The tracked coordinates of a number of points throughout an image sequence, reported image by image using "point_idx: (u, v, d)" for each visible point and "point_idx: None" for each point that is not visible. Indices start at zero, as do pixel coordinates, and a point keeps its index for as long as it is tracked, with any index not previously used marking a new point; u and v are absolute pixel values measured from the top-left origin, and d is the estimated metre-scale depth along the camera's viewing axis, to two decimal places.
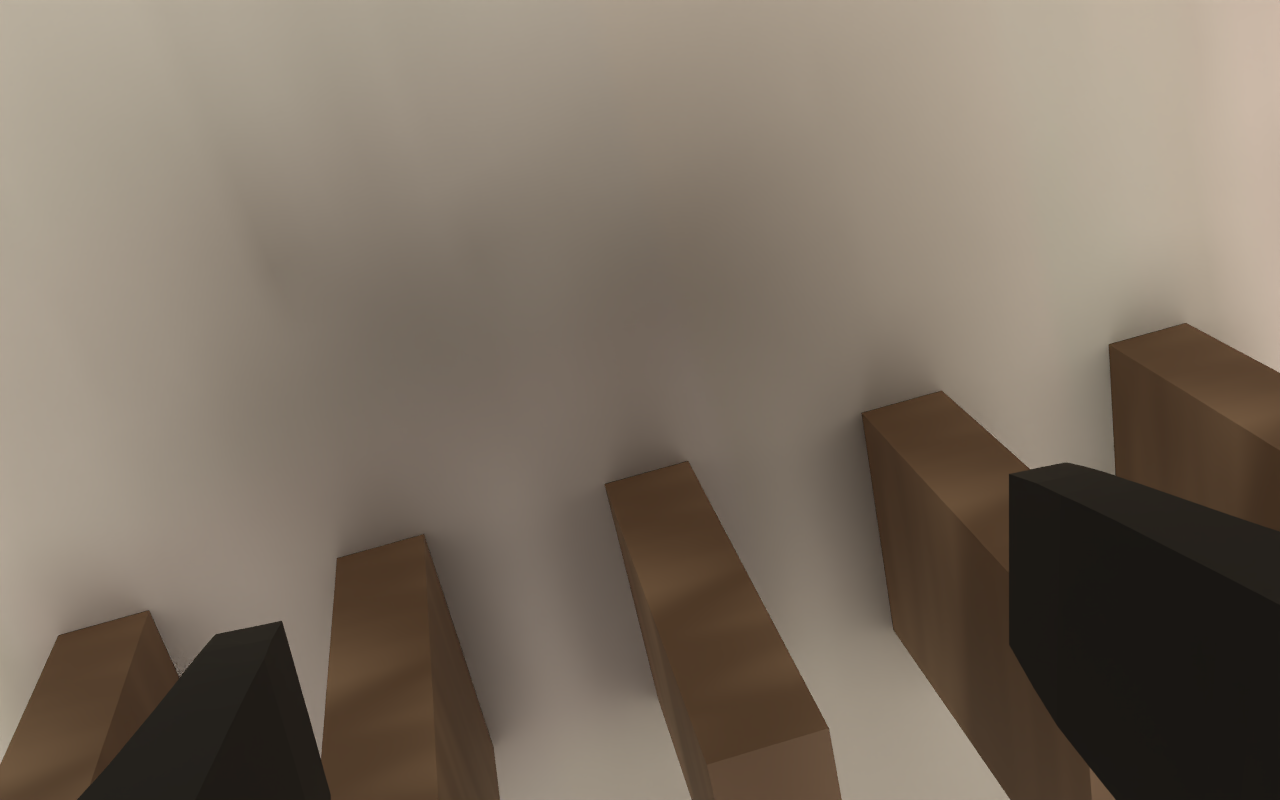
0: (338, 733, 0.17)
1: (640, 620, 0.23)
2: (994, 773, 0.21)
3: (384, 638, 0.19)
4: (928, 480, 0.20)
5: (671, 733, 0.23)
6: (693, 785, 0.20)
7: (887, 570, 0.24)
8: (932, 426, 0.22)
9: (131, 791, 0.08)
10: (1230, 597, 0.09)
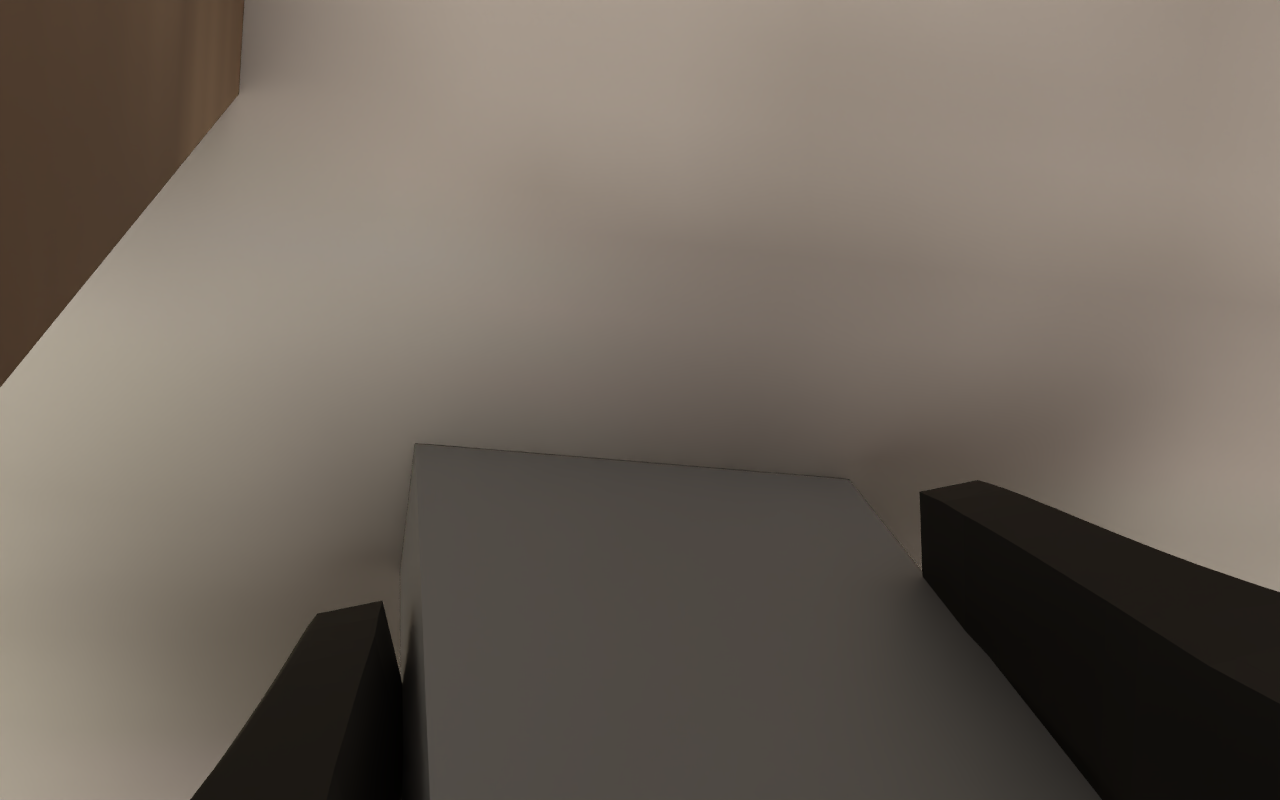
0: None
1: None
2: None
3: None
4: None
5: None
6: None
7: None
8: None
9: (266, 762, 0.08)
10: (1112, 623, 0.09)
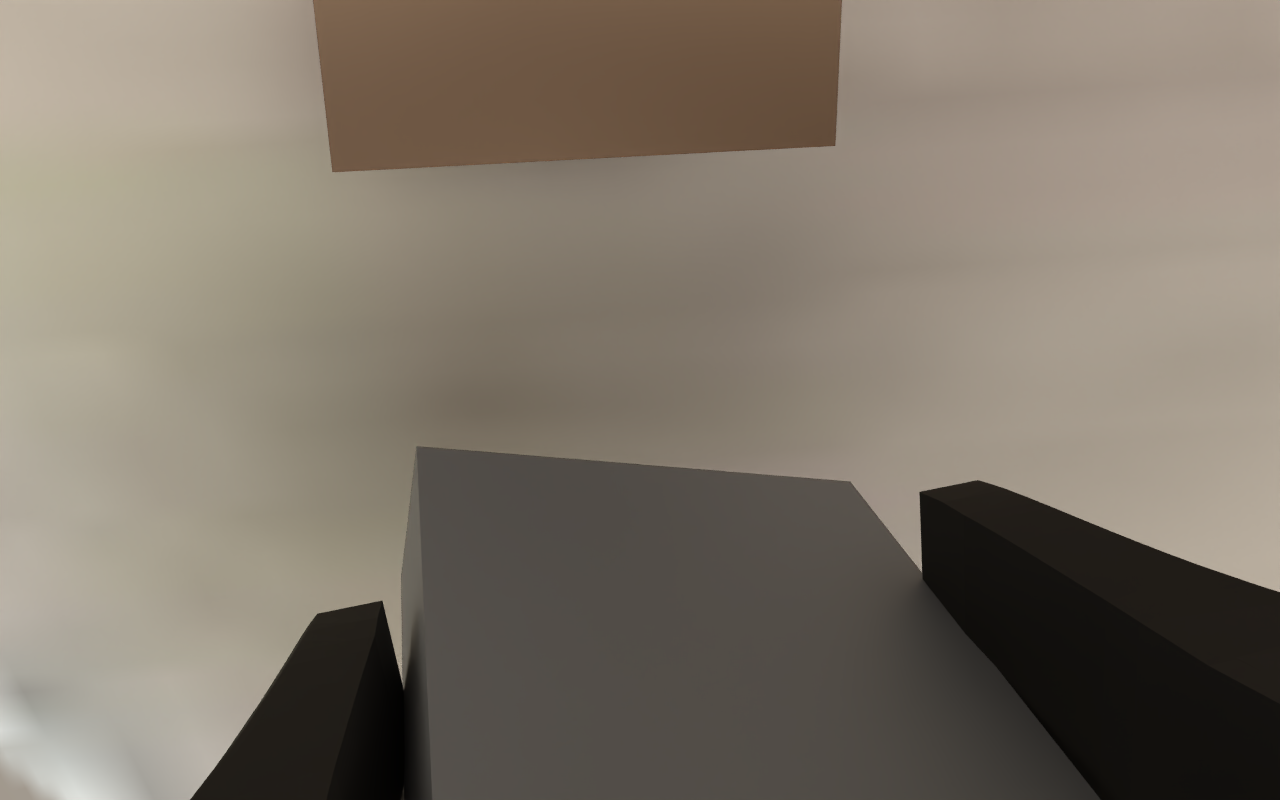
0: None
1: None
2: None
3: None
4: None
5: None
6: None
7: None
8: None
9: (267, 761, 0.08)
10: (1112, 623, 0.09)
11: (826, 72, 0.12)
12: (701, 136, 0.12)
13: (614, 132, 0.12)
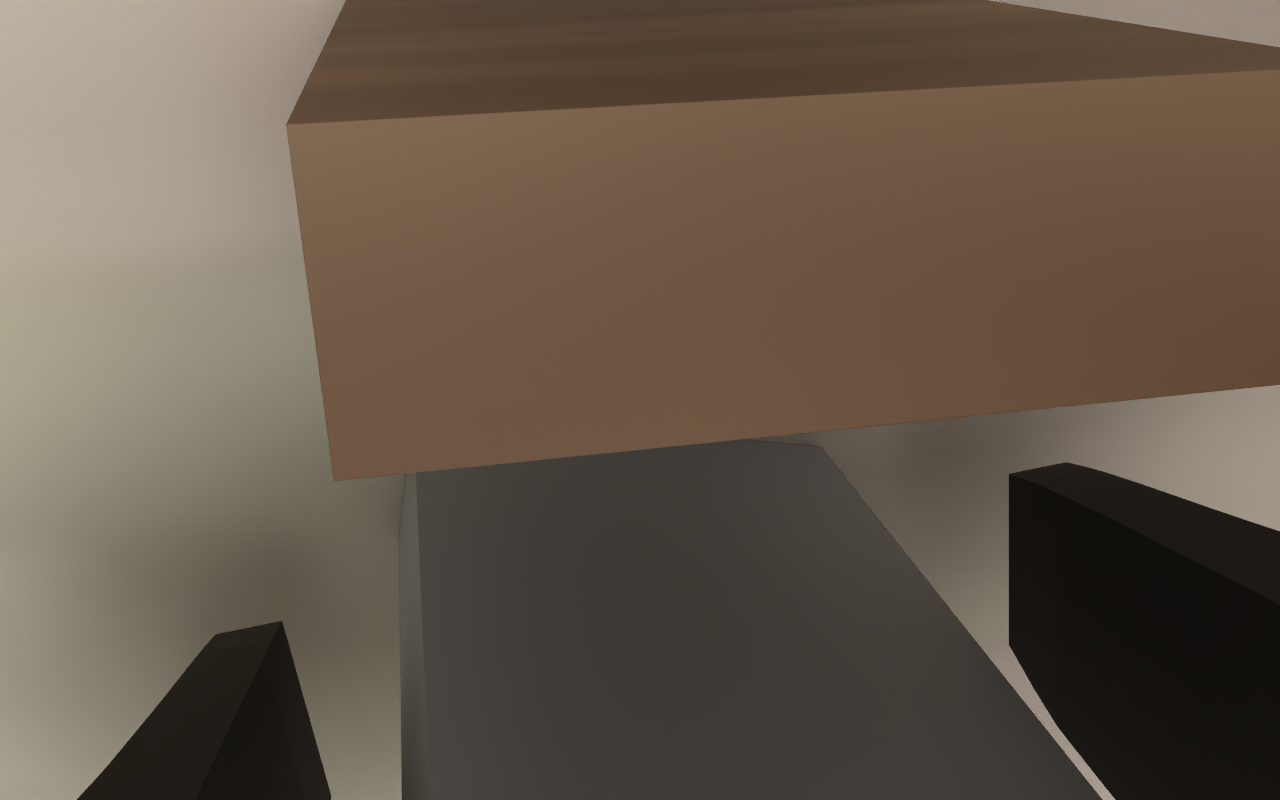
0: None
1: None
2: None
3: None
4: None
5: None
6: None
7: None
8: None
9: (131, 791, 0.08)
10: (1230, 598, 0.09)
11: None
12: (1072, 376, 0.06)
13: (906, 376, 0.06)
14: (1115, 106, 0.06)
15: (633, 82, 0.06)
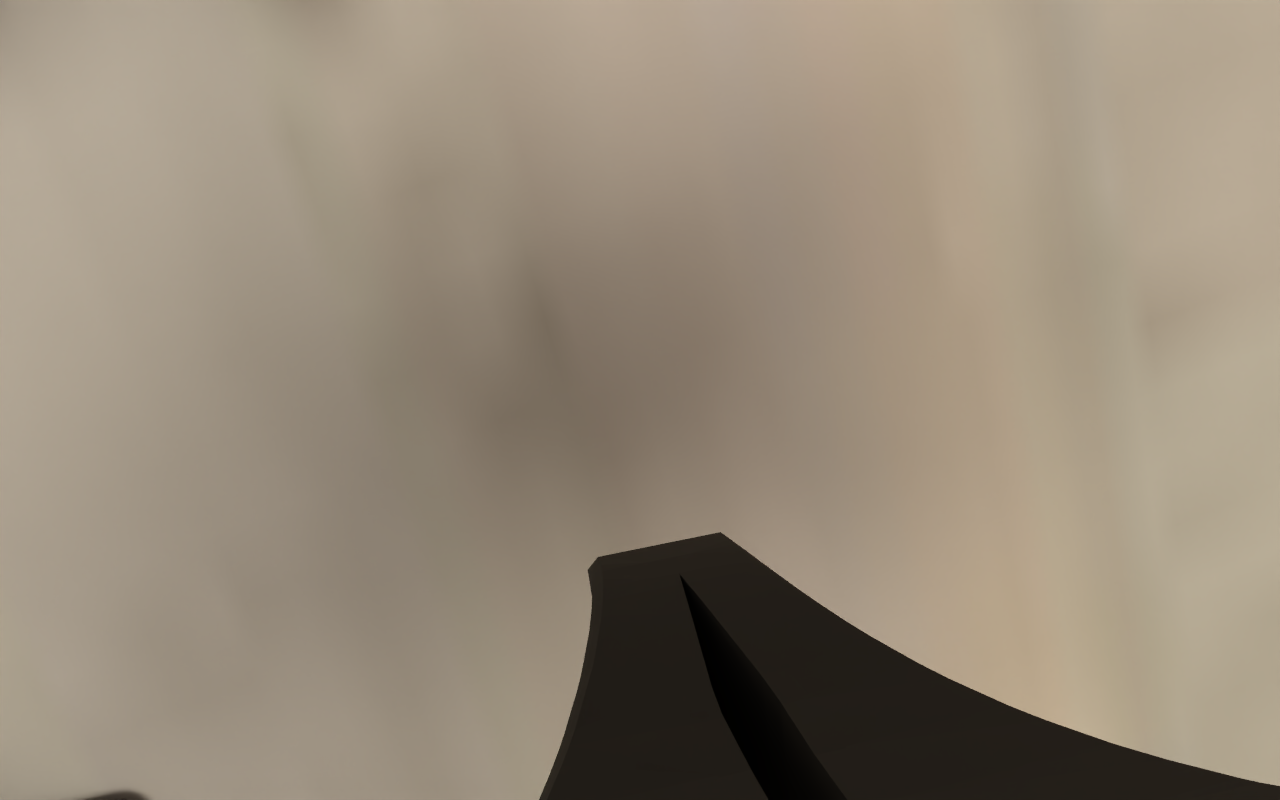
0: None
1: None
2: None
3: None
4: None
5: None
6: None
7: None
8: None
9: (638, 682, 0.09)
10: (768, 699, 0.08)
11: None
12: None
13: None
14: None
15: None
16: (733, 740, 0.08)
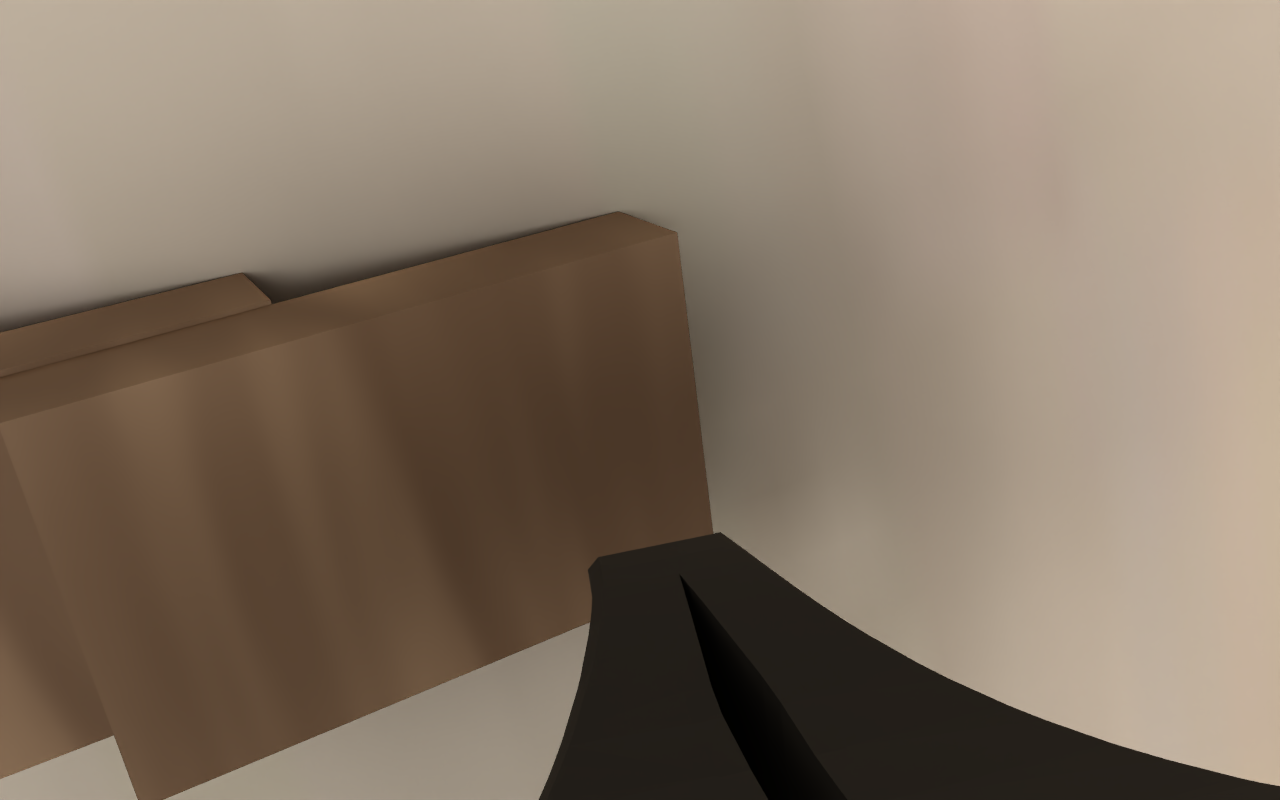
0: None
1: None
2: None
3: None
4: (2, 333, 0.15)
5: None
6: None
7: None
8: (157, 312, 0.15)
9: (637, 681, 0.09)
10: (766, 699, 0.08)
11: None
12: None
13: None
14: None
15: None
16: (733, 739, 0.08)
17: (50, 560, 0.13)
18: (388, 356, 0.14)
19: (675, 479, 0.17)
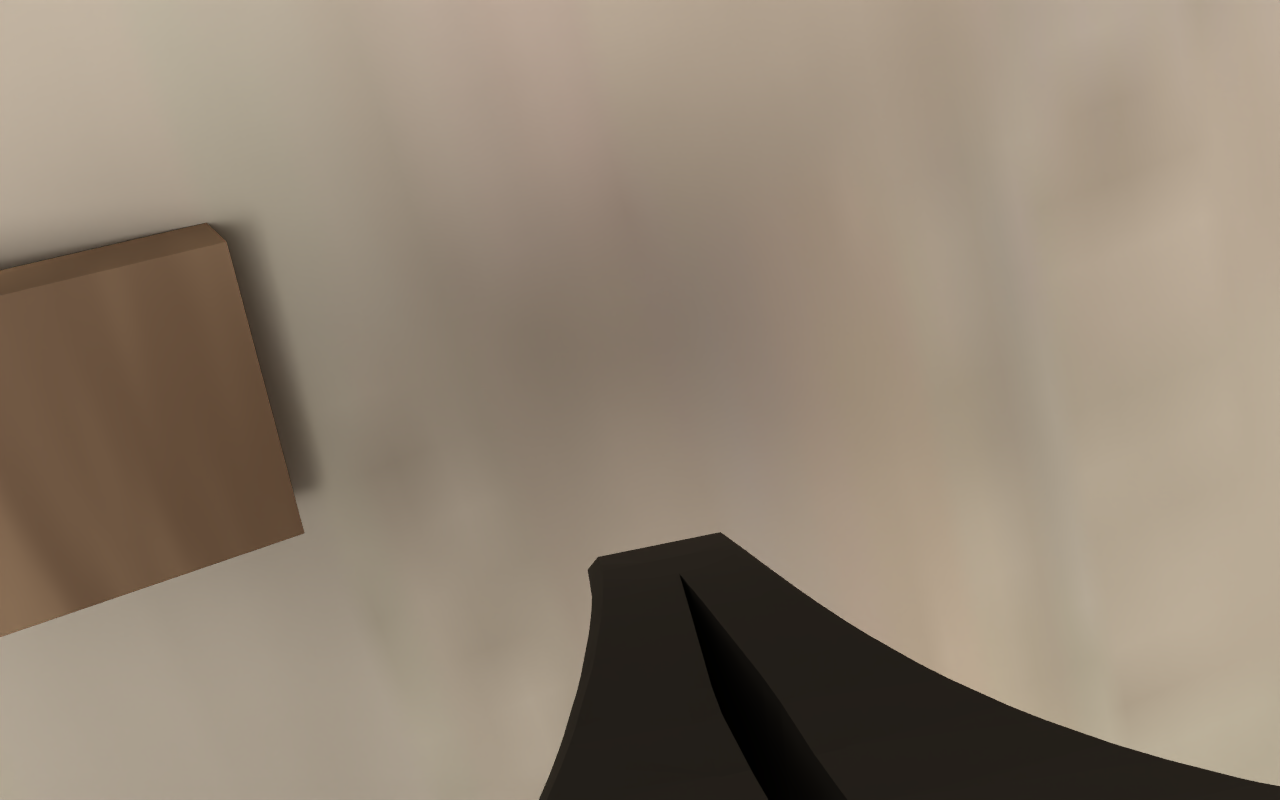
0: None
1: None
2: None
3: None
4: None
5: None
6: None
7: None
8: None
9: (638, 681, 0.09)
10: (768, 699, 0.08)
11: None
12: None
13: None
14: None
15: None
16: (733, 740, 0.08)
17: None
18: None
19: (251, 453, 0.19)
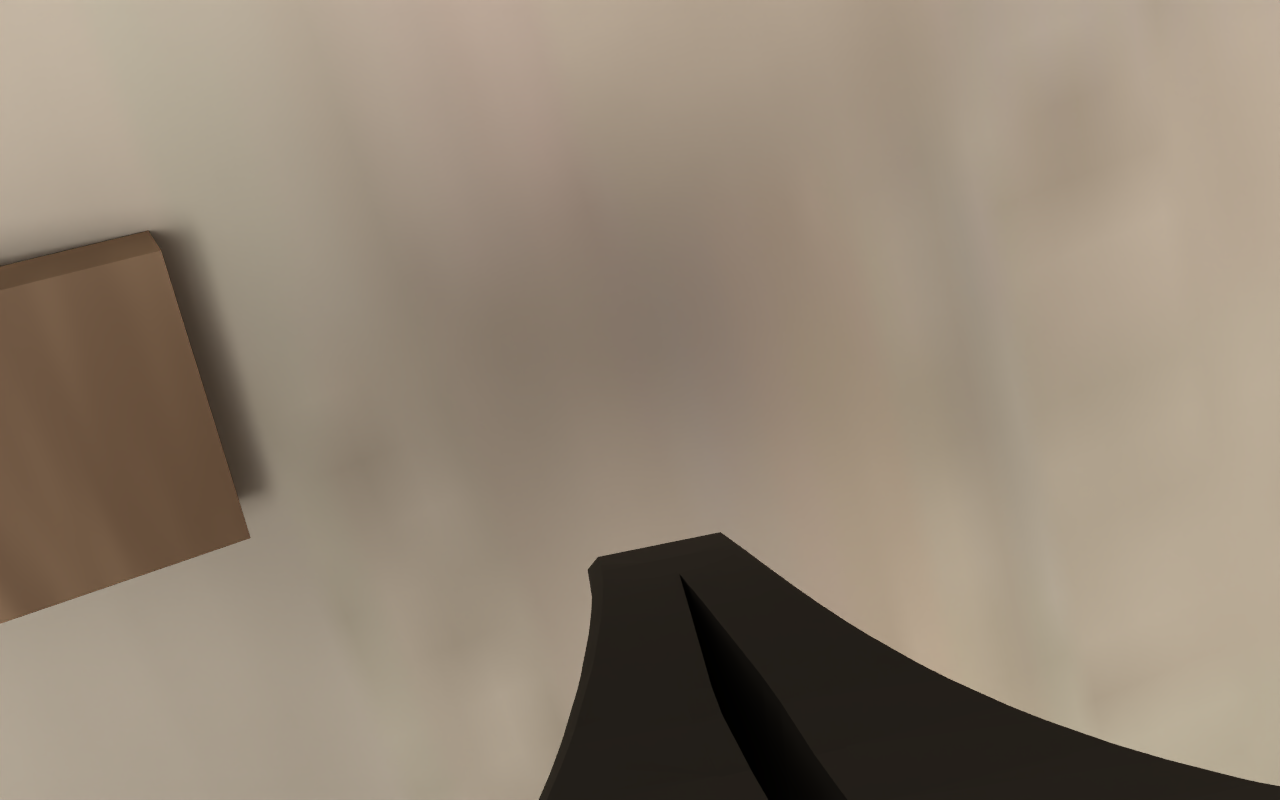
0: None
1: None
2: None
3: None
4: None
5: None
6: None
7: None
8: None
9: (638, 681, 0.09)
10: (768, 699, 0.08)
11: None
12: None
13: None
14: None
15: None
16: (733, 740, 0.08)
17: None
18: None
19: (193, 459, 0.19)
